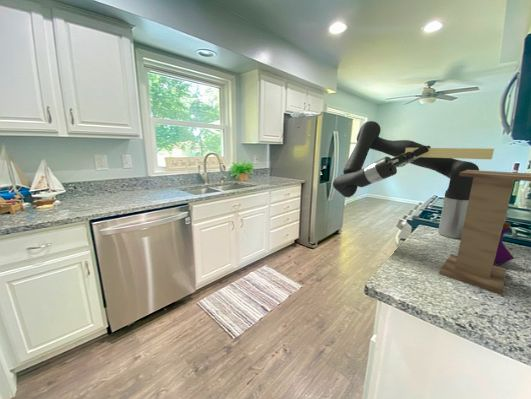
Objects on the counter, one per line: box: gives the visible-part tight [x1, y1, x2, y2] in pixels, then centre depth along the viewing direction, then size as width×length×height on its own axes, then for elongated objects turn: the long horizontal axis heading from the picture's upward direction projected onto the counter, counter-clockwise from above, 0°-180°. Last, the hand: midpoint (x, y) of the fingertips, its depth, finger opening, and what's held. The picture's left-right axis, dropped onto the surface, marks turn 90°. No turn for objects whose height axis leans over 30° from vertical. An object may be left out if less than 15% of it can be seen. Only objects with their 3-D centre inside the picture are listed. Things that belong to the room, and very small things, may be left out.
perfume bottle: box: [494, 211, 515, 265], centre depth 79 cm, size 8×8×18 cm
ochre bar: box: [405, 147, 495, 160], centre depth 73 cm, size 3×22×3 cm, turn 42°
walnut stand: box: [438, 169, 531, 295], centre depth 69 cm, size 16×14×32 cm
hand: (428, 148), depth 76 cm, fingers closed on ochre bar, 3 cm apart
